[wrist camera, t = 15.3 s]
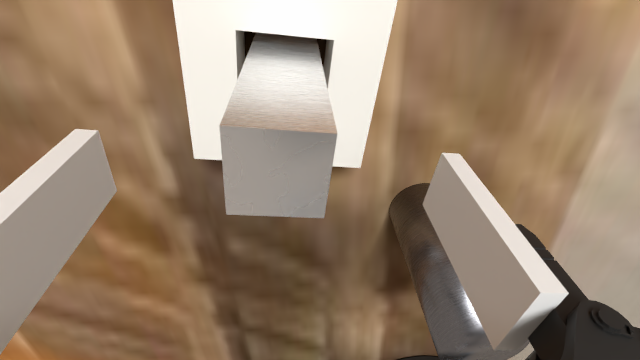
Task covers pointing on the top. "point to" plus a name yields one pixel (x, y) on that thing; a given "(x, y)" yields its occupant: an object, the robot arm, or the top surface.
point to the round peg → (439, 284)
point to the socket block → (294, 20)
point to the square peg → (279, 131)
